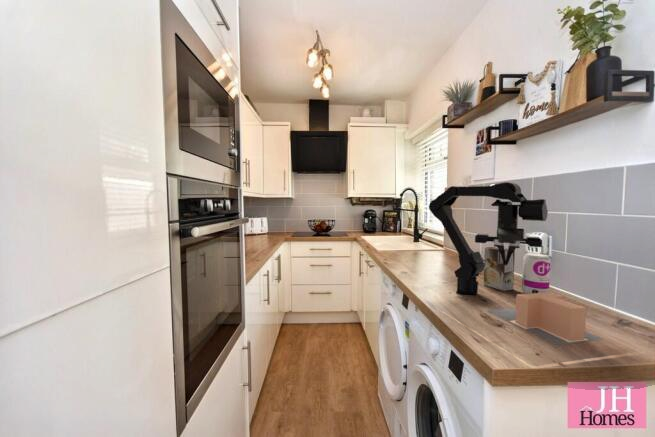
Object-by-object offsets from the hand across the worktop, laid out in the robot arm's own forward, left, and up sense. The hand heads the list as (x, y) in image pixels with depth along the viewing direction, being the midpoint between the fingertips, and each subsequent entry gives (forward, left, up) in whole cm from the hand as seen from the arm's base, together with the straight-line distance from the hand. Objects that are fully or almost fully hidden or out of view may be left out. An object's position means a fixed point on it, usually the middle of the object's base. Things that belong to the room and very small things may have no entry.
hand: (505, 265), depth 93 cm
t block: (+11, -19, -13) cm, 25 cm away
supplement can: (+10, +18, -13) cm, 24 cm away
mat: (+8, -16, -13) cm, 22 cm away
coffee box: (-2, +20, -13) cm, 24 cm away
